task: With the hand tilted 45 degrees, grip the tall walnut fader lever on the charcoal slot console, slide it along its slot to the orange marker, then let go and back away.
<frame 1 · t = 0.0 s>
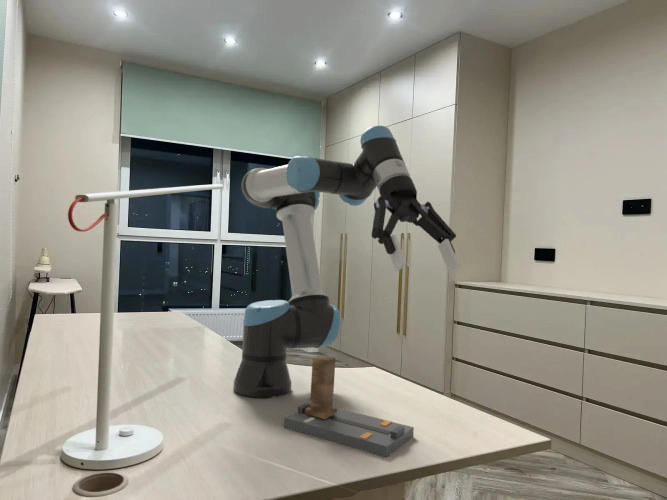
hand: (428, 268, 99), 36 cm above the table, tool tilted 35°, fingers open, 13 cm apart
console: (348, 431, 107), on the table
fader: (322, 385, 111), point 8 cm above the table, slide at 0.0 cm
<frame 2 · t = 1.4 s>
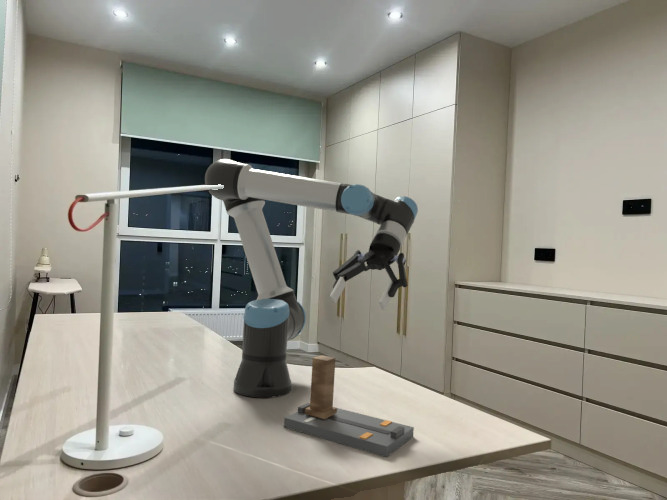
hand: (356, 302, 122), 26 cm above the table, tool tilted 45°, fingers open, 13 cm apart
nothing on the table moved.
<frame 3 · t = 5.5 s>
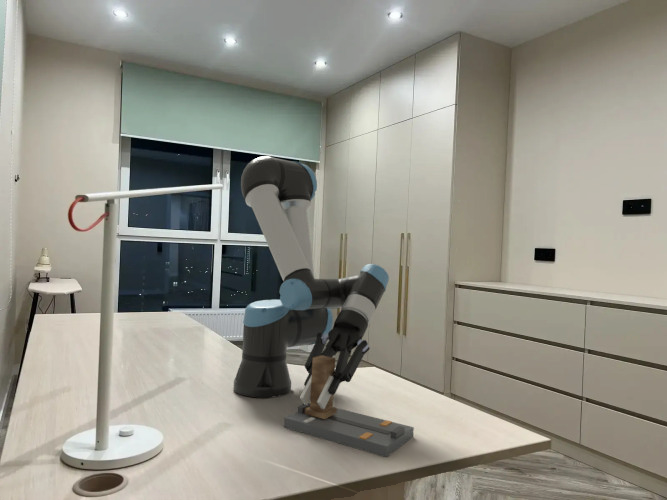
hand: (312, 403, 107), 5 cm above the table, tool tilted 45°, fingers closed on fader, 4 cm apart
fader: (322, 385, 111), point 8 cm above the table, slide at 0.0 cm, touching gripper
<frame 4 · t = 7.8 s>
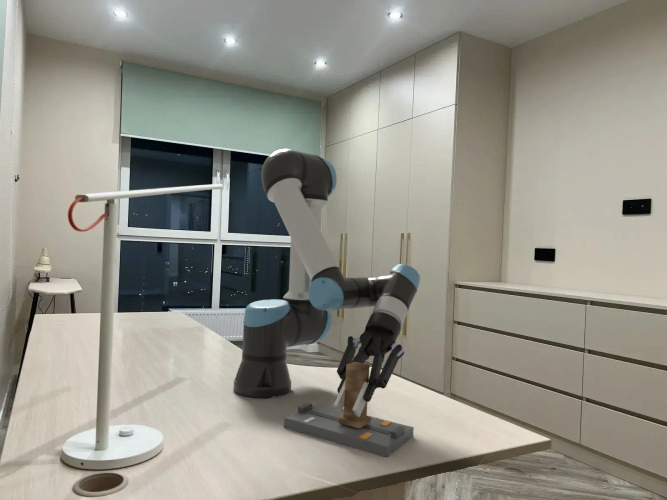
hand: (346, 410, 103), 6 cm above the table, tool tilted 45°, fingers closed on fader, 4 cm apart
fader: (356, 393, 106), point 8 cm above the table, slide at 8.4 cm, touching gripper
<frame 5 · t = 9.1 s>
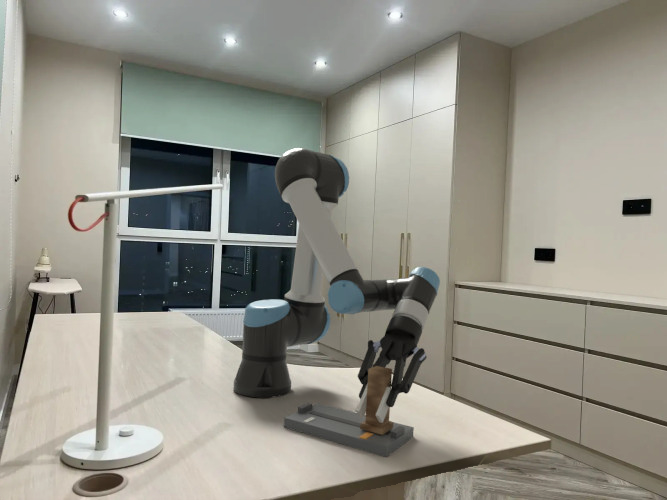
hand: (369, 416, 100), 6 cm above the table, tool tilted 45°, fingers closed on fader, 4 cm apart
fader: (378, 398, 104), point 8 cm above the table, slide at 13.6 cm, touching gripper
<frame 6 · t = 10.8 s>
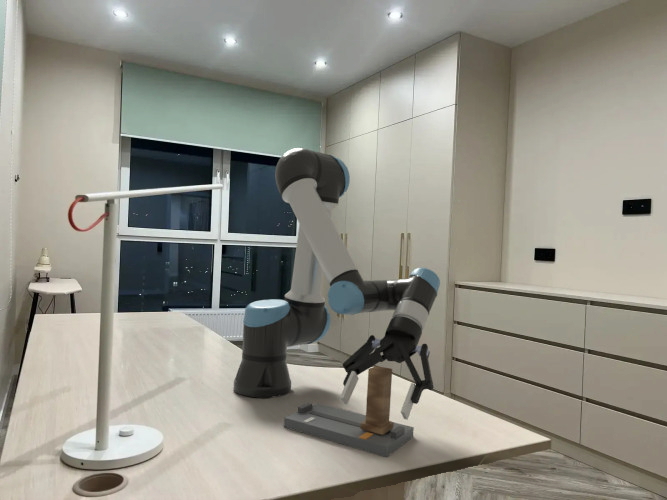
hand: (372, 408, 102), 7 cm above the table, tool tilted 45°, fingers open, 13 cm apart
fader: (378, 398, 103), point 8 cm above the table, slide at 13.6 cm
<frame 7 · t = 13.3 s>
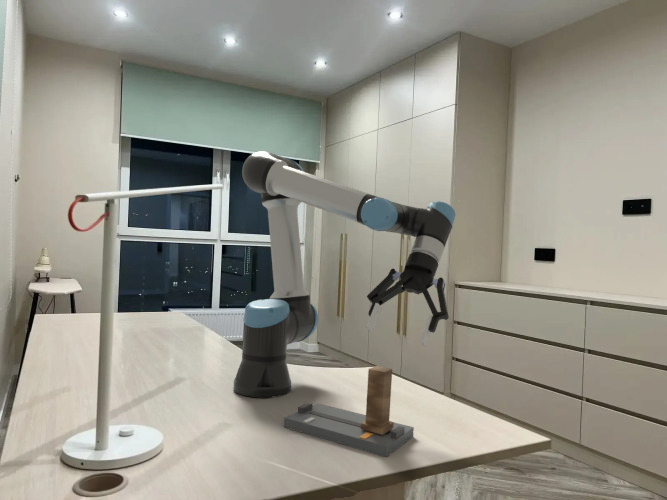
hand: (395, 336, 117), 19 cm above the table, tool tilted 30°, fingers open, 13 cm apart
nothing on the table moved.
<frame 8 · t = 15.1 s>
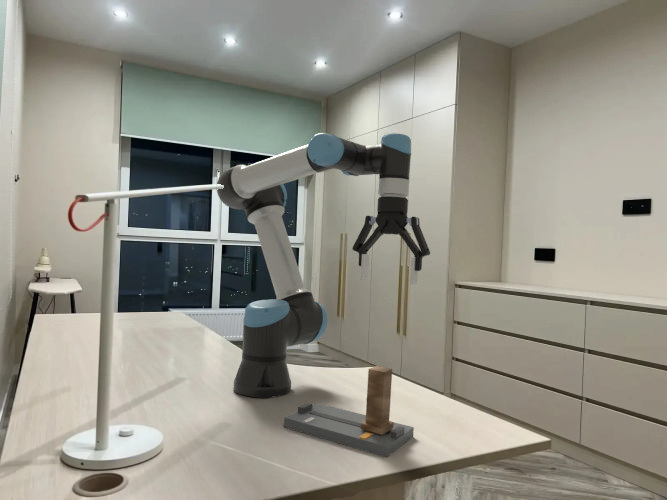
hand: (388, 282, 127), 31 cm above the table, tool pointing down, fingers open, 13 cm apart
nothing on the table moved.
at the end: fader slide at 13.6 cm; the gripper is holding nothing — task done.
